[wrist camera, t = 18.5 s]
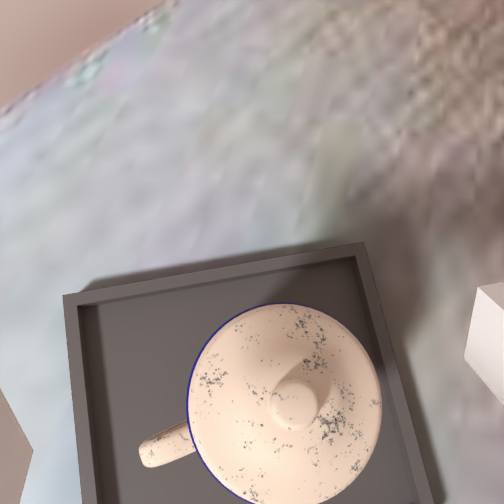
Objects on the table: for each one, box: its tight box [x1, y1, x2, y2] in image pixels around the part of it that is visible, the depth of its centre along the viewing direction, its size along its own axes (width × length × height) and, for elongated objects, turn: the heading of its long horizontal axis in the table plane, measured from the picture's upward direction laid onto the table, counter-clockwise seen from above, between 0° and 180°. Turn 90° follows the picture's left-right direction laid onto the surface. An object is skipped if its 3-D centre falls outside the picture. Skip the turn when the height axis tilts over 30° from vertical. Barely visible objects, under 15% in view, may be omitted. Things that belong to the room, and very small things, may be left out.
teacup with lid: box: [139, 302, 382, 504], centre depth 23 cm, size 12×9×12 cm
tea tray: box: [62, 242, 434, 504], centre depth 28 cm, size 20×18×2 cm
